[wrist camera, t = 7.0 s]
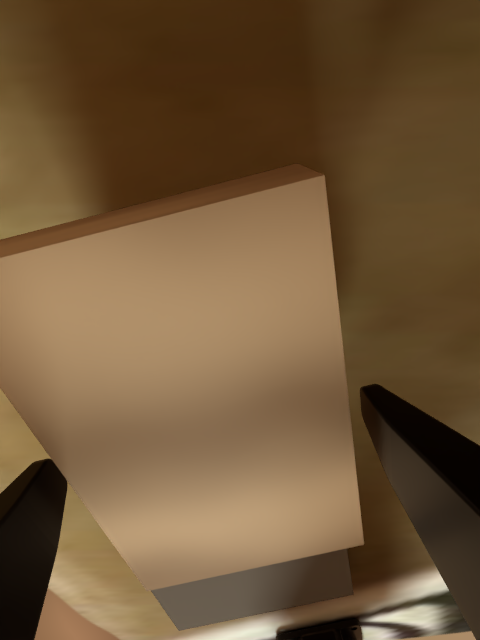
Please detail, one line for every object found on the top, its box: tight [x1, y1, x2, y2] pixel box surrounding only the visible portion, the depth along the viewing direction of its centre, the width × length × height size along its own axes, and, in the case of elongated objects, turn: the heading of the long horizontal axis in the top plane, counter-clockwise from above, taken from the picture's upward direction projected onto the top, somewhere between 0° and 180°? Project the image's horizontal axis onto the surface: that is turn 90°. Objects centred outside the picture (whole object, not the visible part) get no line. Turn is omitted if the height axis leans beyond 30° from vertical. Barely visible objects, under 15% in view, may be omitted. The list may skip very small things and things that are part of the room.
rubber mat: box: [151, 548, 353, 631], centre depth 21 cm, size 14×12×1 cm
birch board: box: [0, 163, 364, 591], centre depth 10 cm, size 11×7×2 cm, turn 13°
